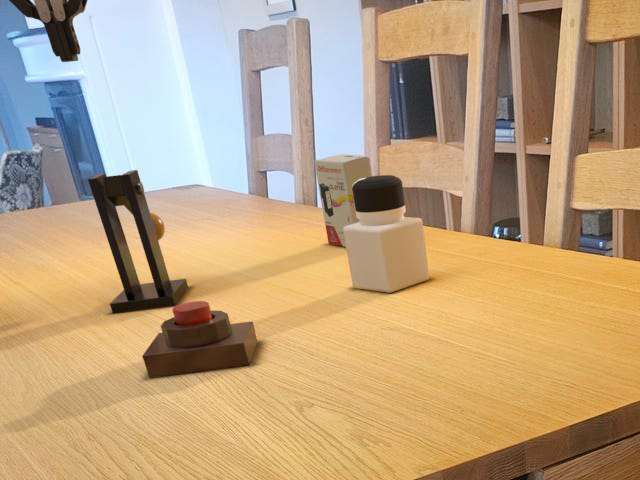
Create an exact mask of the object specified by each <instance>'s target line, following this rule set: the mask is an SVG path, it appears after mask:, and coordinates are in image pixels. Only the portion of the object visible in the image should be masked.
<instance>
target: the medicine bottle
mask: <svg viewBox="0 0 640 480" xmlns="http://www.w3.org/2000/svg"><path fill="white" fill-rule="evenodd" d="M352 193H353V199H354V205H355V211H356V217H357V218H358V219H359V220H360V222H358V223H355V224H351V225H348V226H345V227H344V228H343V232H344V238H345V244H346V247H345V248H346V255H347V260H348V266H349V270H350V271H349V273H350V278H351V283H352V287H353V288H354V289H360V290H366V291H367V290H368V291H374V292H381V293H387V294H391V293H393V292H397V291H399V290H403V289H406V288H409V287H412V286H414V285H417V284H420V283H423V282H425V281H428V280H429V279H430V273H429V272H430V271H429V264H428V256H427V255H428V254H427V247H426V240H425V238H426V237H425V230H424V223H423V219H422V217H421V218H420V217H411V216H405V215H404V214H405V213H406V212H407V210H406V202H405V194H404V186H403V181H402V180H401V178H400V177H399V176H398V177H397V176H395V175H391V174H385V175H384V174H382V175H372V176H371V177H366V178H362V179H359V180H358V181H356V182H355V183H354V184H353V186H352Z"/></svg>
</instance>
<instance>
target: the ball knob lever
mask: <svg viewBox="0 0 640 480" xmlns="http://www.w3.org/2000/svg"><path fill="white" fill-rule="evenodd" d="M121 175H122V174H116V175H107V176H106V177H103V180H104V185H105V191H106V196H107V198H108V199H109V200H110V201H111V202H112V203H113V204H114V205H115V207H121V206H124V207H125V208H126V210H128V212H129V213H130V214H131V215H132V216H133V213H132V209H131V206H130V203H129V200H128V196H127V193H126V190H125V187H124V183H123V180H122V177H121ZM150 215H151V218H152V222H153V225H154V228H155V232H156V235H157V239H158V241H160V240H161V239H162V238H163V237H164V235H165V232H166V227H165V226H166V225H165V223H164V221H163V220H162V218H161V217H160V216H159V215H157V214H156V213H153V212H150Z"/></svg>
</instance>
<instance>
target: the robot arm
mask: <svg viewBox="0 0 640 480" xmlns="http://www.w3.org/2000/svg"><path fill="white" fill-rule="evenodd" d="M8 1H9V2H10V4H12V5H13V6H14V7H15V8H16V9H17V10H18V11H19V12H20V13H22V15H23V16H24V17H26V18H30V19H34V20H38V21H40V22H41V23H42V24H43V25H44V28H45V32H46V35H47V38H48V40H49V43H50V47H51V50H52V52H53V54H54V56H55V57H57V58H58V57H59V59H60V61H61V63H70V62H71V63H72V62H78V61H79V56H78V55H81V46H80V43H79V40H78V37H77V33H76V30H75V27H74V18H75V17H77V16H79V15H80V14H83V13H84V12H85V10H86V8H87V3H88V0H33V1H31V0H8Z"/></svg>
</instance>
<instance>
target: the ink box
mask: <svg viewBox="0 0 640 480" xmlns="http://www.w3.org/2000/svg"><path fill="white" fill-rule="evenodd" d="M313 163H314V168H315V174H316V178H317V179H316V180H317V185H318V190H319V196H320V203H321V209H322V214H323V220H324V225H325V230H326V236H327V243H328V245H333V246H336V247H337V246H338V247H343V248H346V244H345V238H344V232H343V228H344V227H345V226H348V225H351V224H355V223H358V222H360V220H359V219H358V218H357V217H356V211H355V205H354V199H353V193H352V186H353V184H354V183H355V182H356V181H358V180H359V179H362V178H366V177H371V176H373V173H372V166H371V165H372V164H371V158H370V157H369V156H368V155H363V154H362V155H360V154H346V153H345V154H343V153H341V154H335V155H331V156H328V157H324V158H323V157H322V158H320V159H315V160H314V161H313Z"/></svg>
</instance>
